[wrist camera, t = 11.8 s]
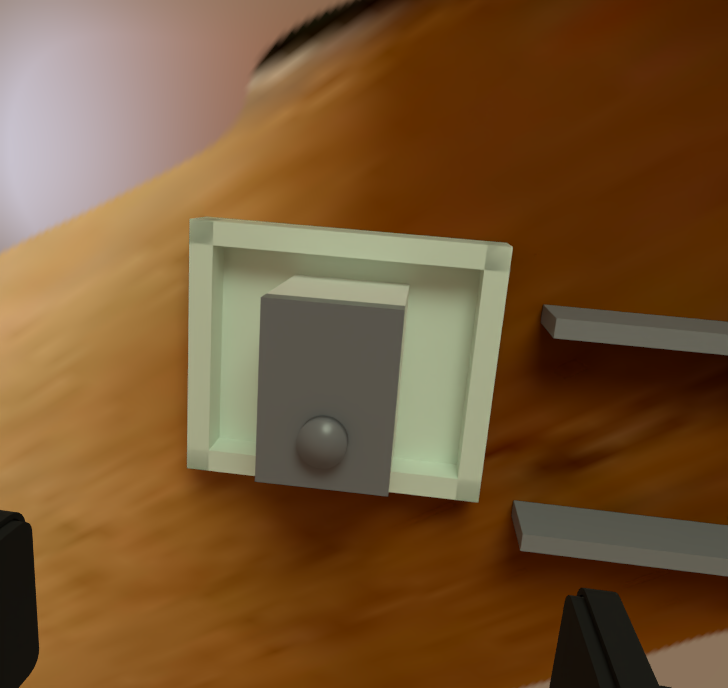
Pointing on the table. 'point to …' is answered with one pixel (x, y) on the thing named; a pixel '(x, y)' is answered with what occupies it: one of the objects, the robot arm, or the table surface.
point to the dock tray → (421, 346)
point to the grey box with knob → (330, 383)
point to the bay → (619, 530)
